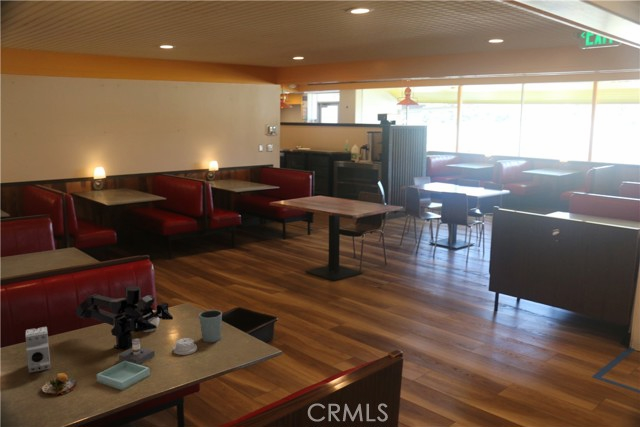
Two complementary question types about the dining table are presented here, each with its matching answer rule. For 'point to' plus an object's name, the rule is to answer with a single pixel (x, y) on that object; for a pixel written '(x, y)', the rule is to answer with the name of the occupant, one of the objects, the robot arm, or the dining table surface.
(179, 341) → the mechanical component
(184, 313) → the dining table surface
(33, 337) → the circuit breaker
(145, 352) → the socket block
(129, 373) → the parts tray
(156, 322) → the lidded jar
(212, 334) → the blue-grey cup
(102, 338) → the dining table surface
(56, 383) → the plate of food
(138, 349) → the cylinder
